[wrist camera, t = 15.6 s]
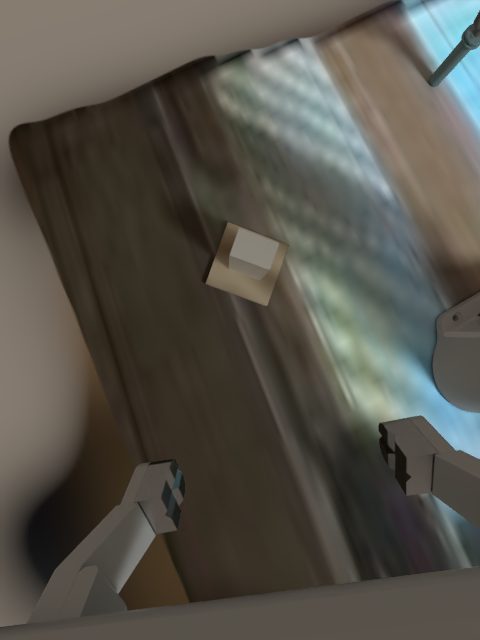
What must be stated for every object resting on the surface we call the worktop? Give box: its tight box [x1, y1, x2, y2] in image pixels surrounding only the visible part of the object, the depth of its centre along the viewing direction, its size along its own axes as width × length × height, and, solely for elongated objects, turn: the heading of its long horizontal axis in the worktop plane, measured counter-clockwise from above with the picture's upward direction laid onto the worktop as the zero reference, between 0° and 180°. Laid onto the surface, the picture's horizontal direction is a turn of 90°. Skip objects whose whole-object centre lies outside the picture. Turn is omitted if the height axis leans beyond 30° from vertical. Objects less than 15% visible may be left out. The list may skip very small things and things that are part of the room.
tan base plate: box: [206, 222, 289, 306], centre depth 32 cm, size 9×9×8 cm
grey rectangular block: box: [229, 228, 279, 280], centre depth 31 cm, size 3×5×8 cm
